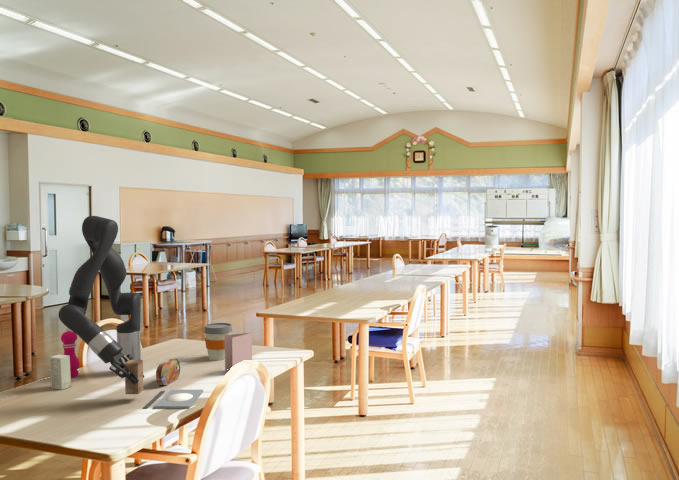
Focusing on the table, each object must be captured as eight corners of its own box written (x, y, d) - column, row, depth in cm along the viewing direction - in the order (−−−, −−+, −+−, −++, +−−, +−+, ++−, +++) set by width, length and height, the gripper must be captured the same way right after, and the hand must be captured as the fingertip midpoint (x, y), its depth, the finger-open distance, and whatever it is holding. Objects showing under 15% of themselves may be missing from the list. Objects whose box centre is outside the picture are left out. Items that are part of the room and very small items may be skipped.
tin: (162, 388, 211) (161, 366, 211) (154, 387, 212) (154, 365, 211) (181, 376, 226) (180, 356, 225) (174, 376, 226) (173, 356, 226)
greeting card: (251, 367, 240) (251, 332, 239) (255, 371, 233) (254, 335, 232) (224, 369, 236) (224, 334, 235) (227, 374, 229) (227, 338, 228)
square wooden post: (125, 394, 196) (124, 363, 195) (130, 390, 200) (130, 359, 200) (138, 394, 196) (137, 363, 195) (143, 390, 200) (142, 359, 200)
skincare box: (71, 386, 213) (70, 355, 213) (61, 390, 209) (60, 358, 209) (60, 384, 216) (59, 353, 215) (49, 388, 212) (48, 356, 211)
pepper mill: (60, 379, 223) (59, 330, 222) (60, 375, 229) (58, 326, 228) (80, 377, 226) (79, 328, 225) (79, 372, 233) (78, 325, 232)
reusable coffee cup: (229, 361, 249) (228, 328, 248) (201, 361, 249) (200, 328, 249) (235, 354, 262) (234, 322, 261) (208, 354, 262) (207, 322, 261)
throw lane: (142, 408, 189) (142, 405, 189) (161, 391, 207) (161, 389, 207) (189, 408, 188) (189, 405, 188) (203, 391, 206) (203, 389, 206)
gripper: (103, 344, 190) (139, 379, 190) (120, 335, 204) (154, 367, 205) (88, 359, 190) (124, 394, 191) (106, 349, 205) (140, 382, 205)
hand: (139, 380), depth 198 cm, fingers closed on square wooden post, 4 cm apart
